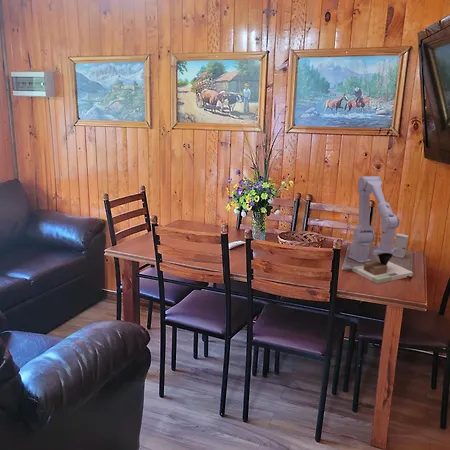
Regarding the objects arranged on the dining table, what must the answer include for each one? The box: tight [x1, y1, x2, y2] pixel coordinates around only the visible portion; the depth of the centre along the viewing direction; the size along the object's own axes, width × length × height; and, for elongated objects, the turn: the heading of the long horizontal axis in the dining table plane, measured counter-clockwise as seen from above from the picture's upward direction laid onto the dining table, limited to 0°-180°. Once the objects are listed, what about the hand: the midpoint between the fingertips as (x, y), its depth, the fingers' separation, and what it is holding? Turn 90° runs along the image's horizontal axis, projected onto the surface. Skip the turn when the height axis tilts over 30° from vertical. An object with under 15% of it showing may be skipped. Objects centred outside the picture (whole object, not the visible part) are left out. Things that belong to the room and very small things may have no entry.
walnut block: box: [363, 260, 388, 275], centre depth 211 cm, size 8×8×4 cm
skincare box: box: [392, 233, 410, 259], centre depth 237 cm, size 6×4×12 cm
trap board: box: [352, 260, 414, 285], centre depth 214 cm, size 16×24×2 cm
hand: (382, 267), depth 213 cm, fingers closed
